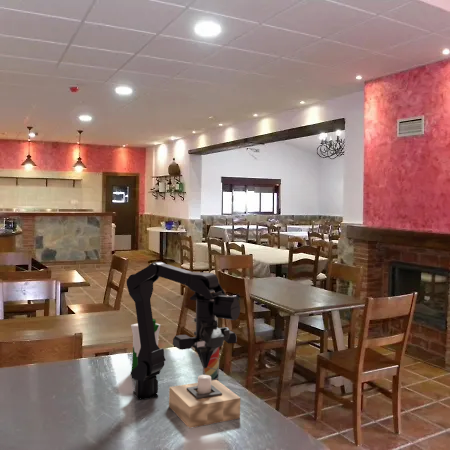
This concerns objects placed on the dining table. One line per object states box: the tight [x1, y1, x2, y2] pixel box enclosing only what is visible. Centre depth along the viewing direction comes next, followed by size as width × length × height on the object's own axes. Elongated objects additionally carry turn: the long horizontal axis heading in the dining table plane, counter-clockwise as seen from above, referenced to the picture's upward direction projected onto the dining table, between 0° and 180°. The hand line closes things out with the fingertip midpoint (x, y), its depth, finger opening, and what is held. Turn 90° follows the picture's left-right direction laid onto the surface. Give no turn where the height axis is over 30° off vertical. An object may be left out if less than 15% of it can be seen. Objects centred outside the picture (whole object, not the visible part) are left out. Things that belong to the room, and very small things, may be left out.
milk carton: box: [130, 318, 161, 372], centre depth 177 cm, size 9×9×20 cm
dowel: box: [197, 374, 211, 395], centre depth 145 cm, size 4×4×6 cm
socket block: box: [168, 379, 241, 429], centre depth 145 cm, size 16×16×7 cm
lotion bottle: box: [202, 347, 220, 381], centre depth 174 cm, size 6×6×20 cm
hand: (204, 367), depth 145 cm, fingers closed
